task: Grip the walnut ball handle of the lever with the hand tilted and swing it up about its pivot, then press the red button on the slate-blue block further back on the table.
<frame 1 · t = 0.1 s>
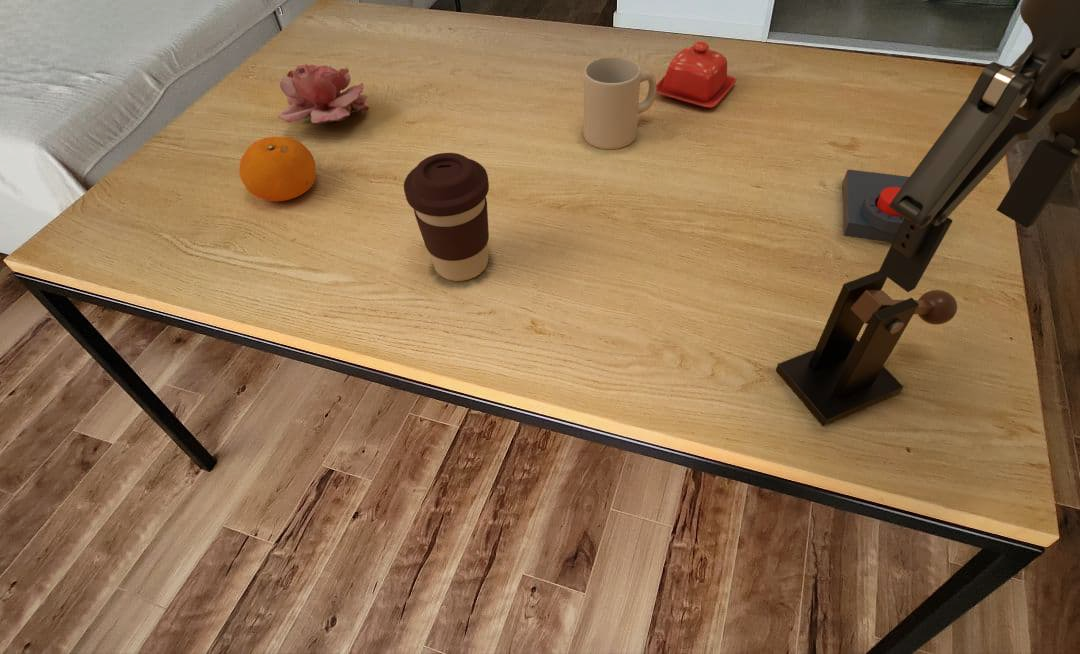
hand: (957, 247, 51), 22 cm above the table, tool pointing down, fingers open, 13 cm apart
button block: (881, 212, 88), on the table
flower: (331, 122, 110), on the table
coffee cup: (461, 264, 85), on the table
button: (895, 202, 82), point 4 cm above the table, slide at 0.1 cm
mug: (619, 133, 104), on the table
fruit: (288, 191, 98), on the table
bracket: (836, 381, 70), on the table
lever: (907, 307, 64), point 10 cm above the table, hinge at -25.0°
butter dish: (693, 92, 111), on the table
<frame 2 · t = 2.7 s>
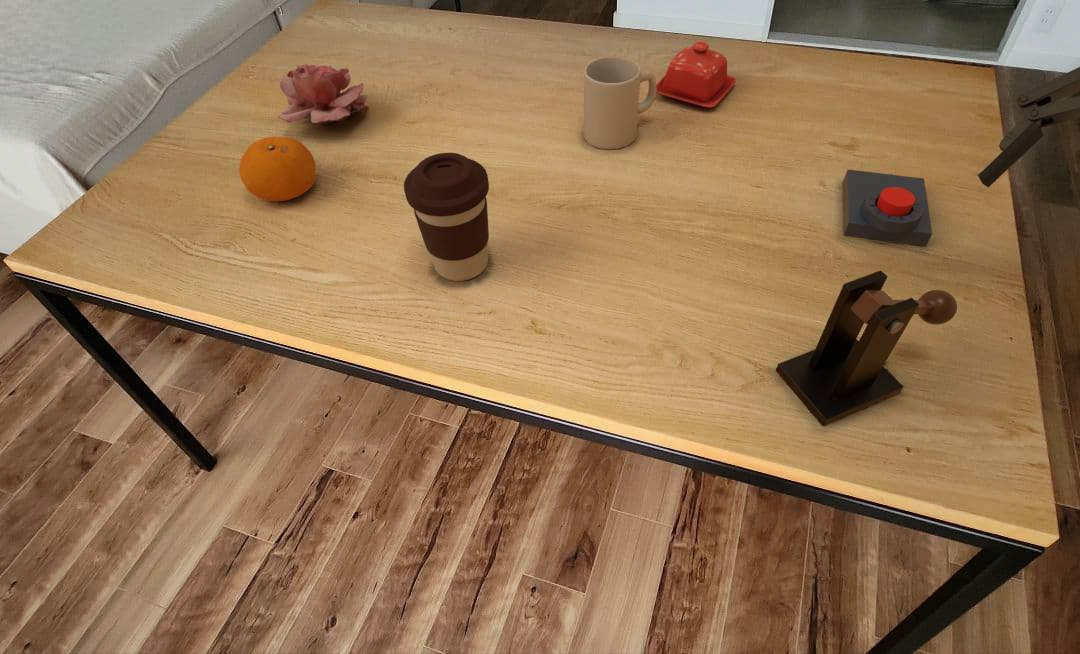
hand: (1042, 220, 62), 16 cm above the table, tool tilted 45°, fingers open, 13 cm apart
nothing on the table moved.
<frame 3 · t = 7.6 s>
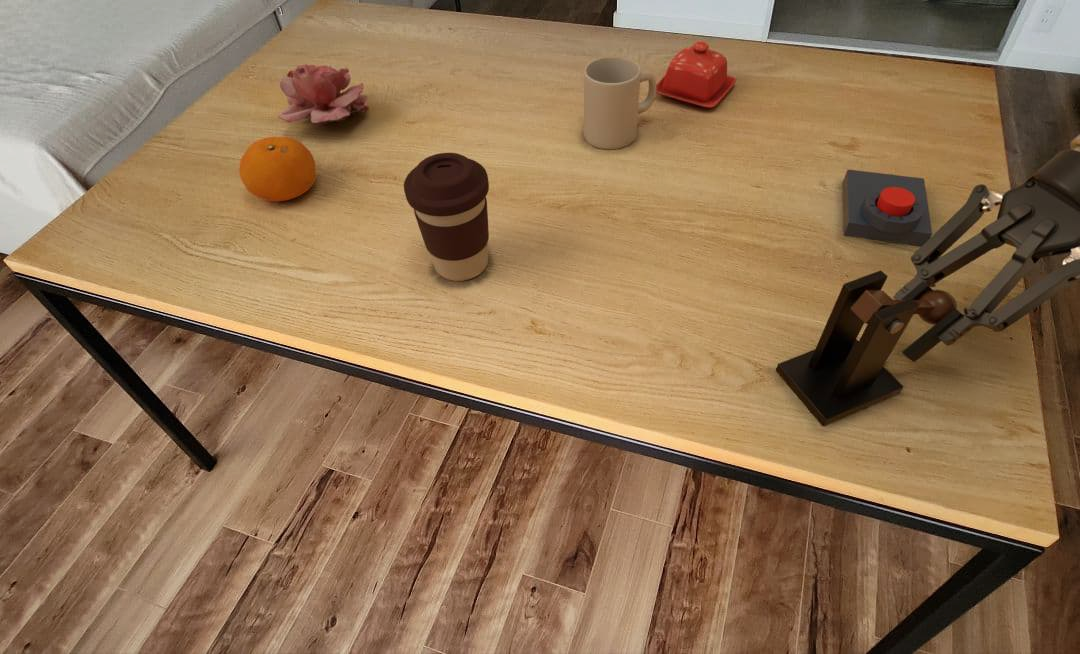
hand: (893, 342, 69), 4 cm above the table, tool tilted 45°, fingers closed on lever, 4 cm apart
lever: (907, 307, 64), point 10 cm above the table, hinge at -25.0°, touching gripper
everything else where it was.
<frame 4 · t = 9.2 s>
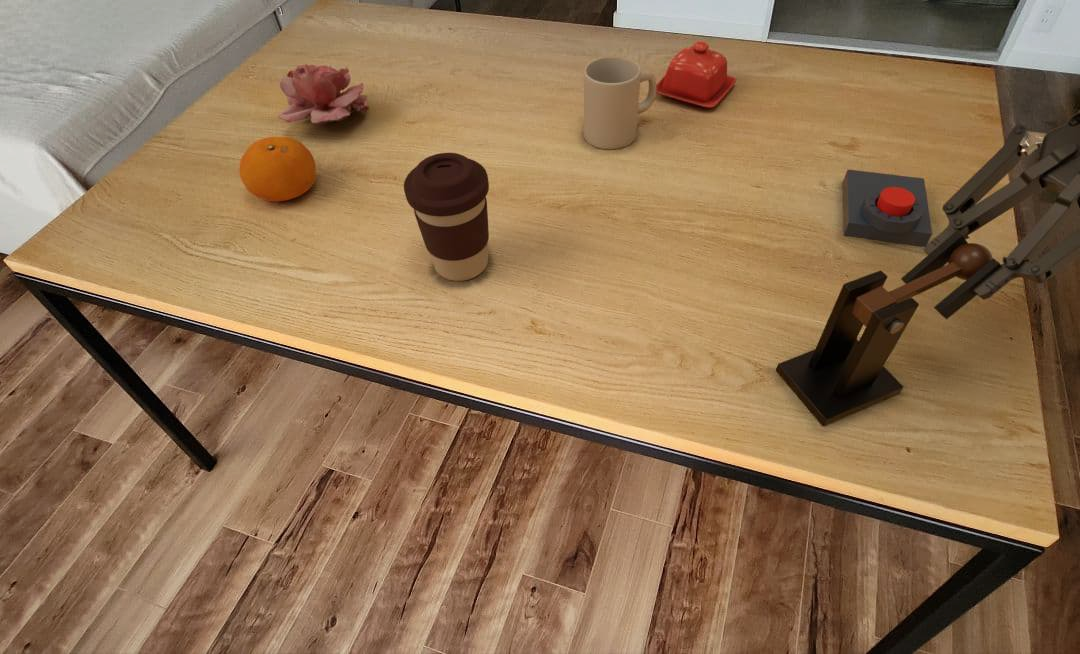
hand: (923, 298, 64), 10 cm above the table, tool tilted 45°, fingers closed on lever, 4 cm apart
lever: (924, 283, 62), point 13 cm above the table, hinge at 7.5°, touching gripper
everything else where it was.
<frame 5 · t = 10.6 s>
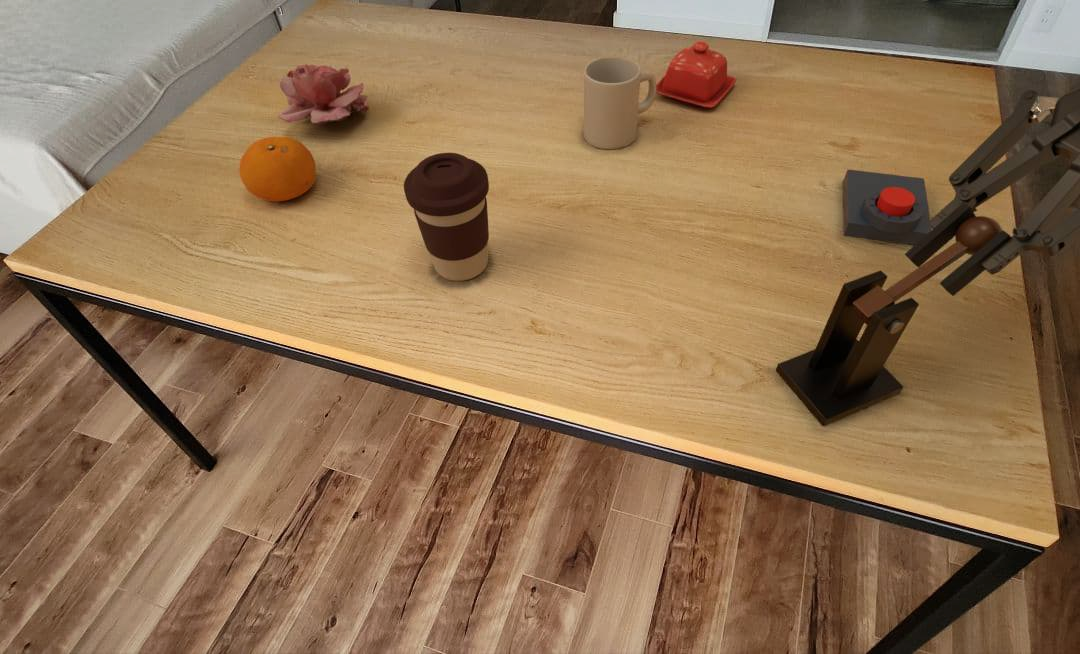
hand: (929, 274, 61), 14 cm above the table, tool tilted 45°, fingers closed on lever, 4 cm apart
lever: (927, 270, 60), point 15 cm above the table, hinge at 28.0°, touching gripper
everything else where it was.
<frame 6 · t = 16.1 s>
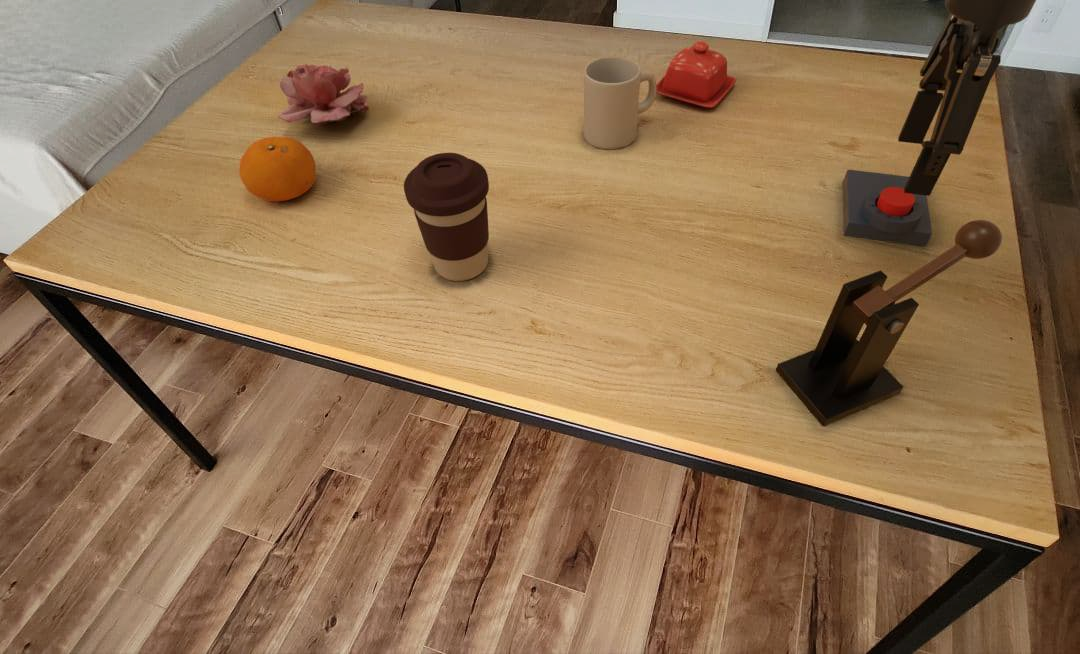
hand: (913, 165, 78), 10 cm above the table, tool pointing down, fingers open, 10 cm apart
lever: (927, 272, 60), point 14 cm above the table, hinge at 24.9°
everything else where it was.
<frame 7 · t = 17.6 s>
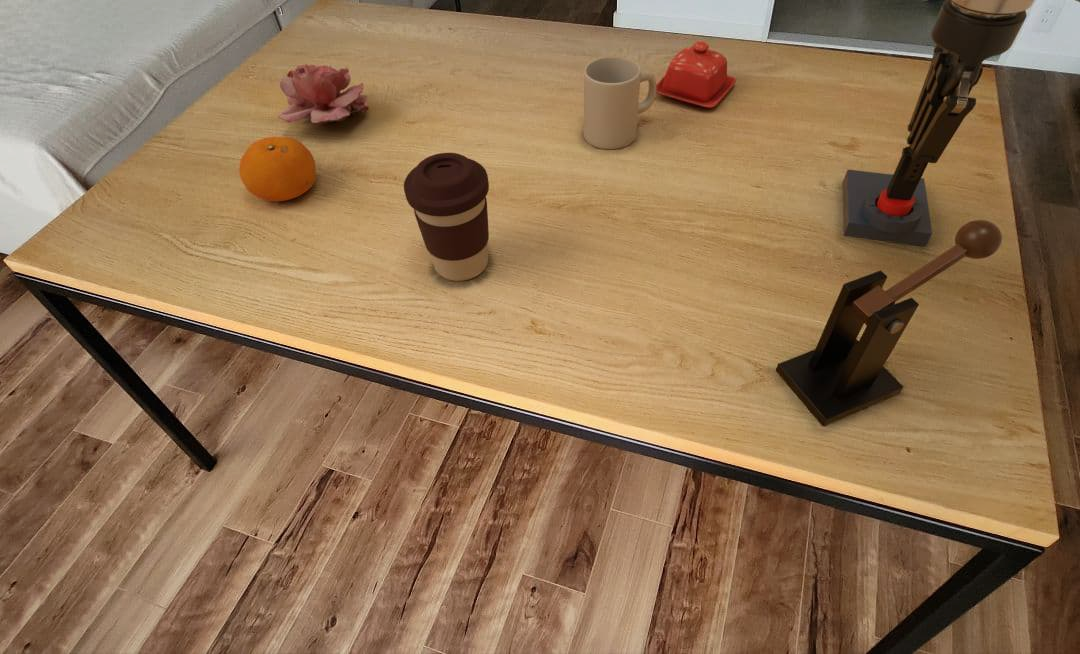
hand: (898, 195, 82), 6 cm above the table, tool pointing down, fingers closed
button: (895, 202, 82), point 4 cm above the table, slide at 0.0 cm, touching gripper
everything else where it was.
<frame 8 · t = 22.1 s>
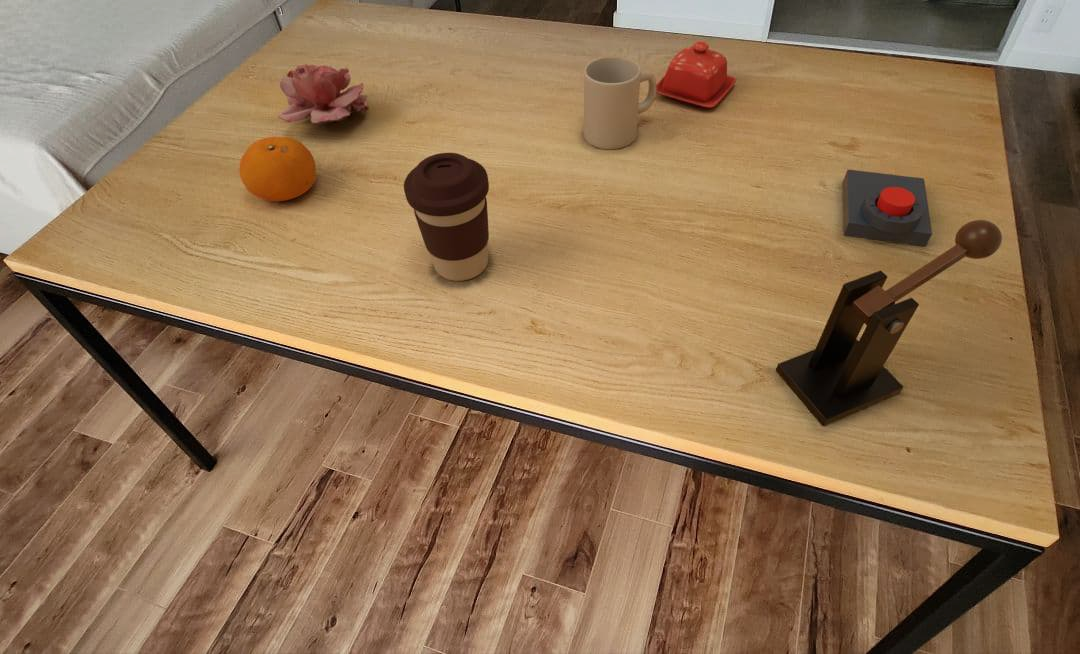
button: (895, 202, 82), point 4 cm above the table, slide at 0.1 cm
everything else where it was.
at the end: lever at +25° (first picture: -25°); button pushed in 1.0 cm at the most during the clip, back to where it started at the end; button slide at 0.1 cm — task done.
